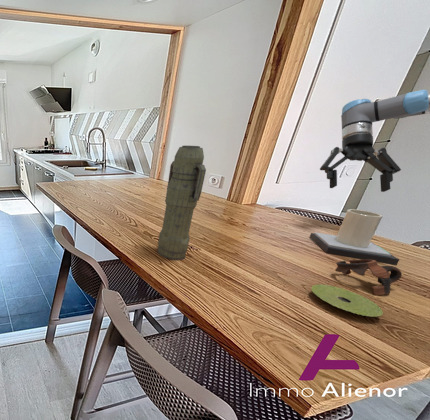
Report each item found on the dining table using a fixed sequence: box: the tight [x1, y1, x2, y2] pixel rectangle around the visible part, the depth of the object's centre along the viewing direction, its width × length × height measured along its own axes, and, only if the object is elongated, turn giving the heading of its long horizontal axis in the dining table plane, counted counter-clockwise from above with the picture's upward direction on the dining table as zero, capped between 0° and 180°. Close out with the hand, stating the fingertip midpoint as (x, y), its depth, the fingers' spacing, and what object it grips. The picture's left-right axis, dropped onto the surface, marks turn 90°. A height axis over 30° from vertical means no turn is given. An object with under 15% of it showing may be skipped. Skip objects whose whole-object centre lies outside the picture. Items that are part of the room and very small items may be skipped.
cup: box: [336, 208, 383, 248], centre depth 83 cm, size 7×7×11 cm
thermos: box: [156, 145, 207, 261], centre depth 76 cm, size 9×12×35 cm
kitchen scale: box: [309, 231, 400, 266], centre depth 85 cm, size 16×14×3 cm
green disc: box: [310, 283, 384, 318], centre depth 58 cm, size 11×11×2 cm
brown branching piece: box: [334, 259, 403, 296], centre depth 66 cm, size 12×10×8 cm
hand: (358, 188), depth 90 cm, fingers open, 13 cm apart
